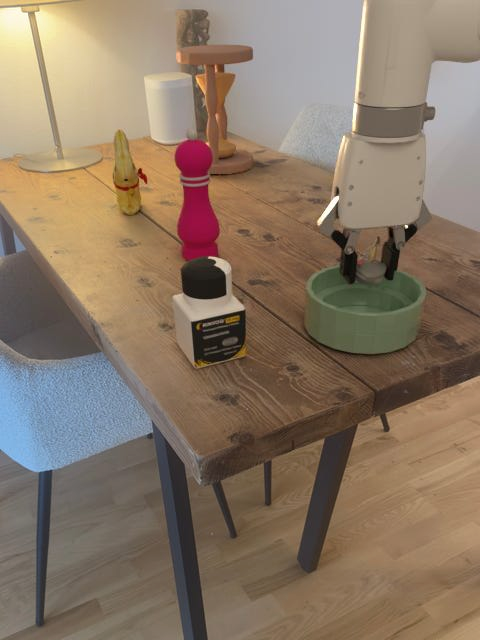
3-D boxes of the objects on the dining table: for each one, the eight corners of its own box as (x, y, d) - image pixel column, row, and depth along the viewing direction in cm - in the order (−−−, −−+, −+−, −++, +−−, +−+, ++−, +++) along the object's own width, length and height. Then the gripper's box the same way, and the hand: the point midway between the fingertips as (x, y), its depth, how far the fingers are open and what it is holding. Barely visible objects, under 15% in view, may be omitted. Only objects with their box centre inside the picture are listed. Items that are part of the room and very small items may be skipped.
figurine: (385, 291, 71) (392, 245, 67) (350, 290, 72) (355, 244, 68) (382, 274, 75) (388, 229, 72) (348, 273, 76) (353, 228, 72)
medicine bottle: (195, 370, 70) (187, 280, 63) (176, 344, 75) (167, 257, 68) (247, 357, 72) (245, 268, 65) (225, 332, 77) (221, 247, 70)
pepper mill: (191, 267, 95) (181, 136, 82) (172, 253, 100) (160, 127, 87) (228, 257, 98) (224, 129, 85) (208, 244, 102) (200, 121, 90)
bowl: (393, 297, 84) (399, 259, 81) (437, 350, 73) (446, 308, 69) (292, 307, 83) (294, 268, 79) (321, 363, 71) (324, 320, 67)
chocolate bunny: (118, 218, 114) (105, 137, 105) (117, 202, 123) (105, 125, 113) (152, 216, 115) (142, 135, 106) (149, 199, 124) (139, 123, 114)
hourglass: (201, 155, 152) (194, 44, 137) (262, 159, 148) (262, 44, 132) (173, 172, 140) (162, 52, 124) (239, 178, 135) (237, 53, 119)
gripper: (444, 110, 65) (417, 261, 77) (303, 118, 64) (296, 272, 75) (476, 123, 60) (441, 284, 71) (321, 133, 58) (311, 296, 69)
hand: (367, 276), depth 73 cm, fingers closed on figurine, 4 cm apart
